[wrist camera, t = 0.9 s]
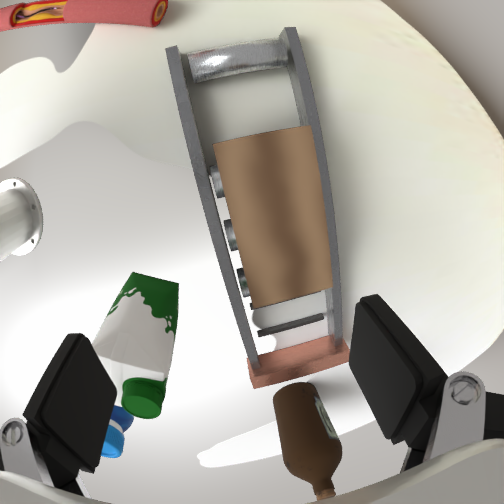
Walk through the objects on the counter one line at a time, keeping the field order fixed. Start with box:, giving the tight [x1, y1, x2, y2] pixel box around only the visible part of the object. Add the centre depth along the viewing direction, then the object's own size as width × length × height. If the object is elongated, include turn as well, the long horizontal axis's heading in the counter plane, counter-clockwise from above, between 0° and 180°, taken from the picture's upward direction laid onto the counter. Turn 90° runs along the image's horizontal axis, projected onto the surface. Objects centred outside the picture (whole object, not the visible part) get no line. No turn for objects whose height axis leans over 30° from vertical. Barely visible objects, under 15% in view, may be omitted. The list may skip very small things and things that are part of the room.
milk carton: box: [92, 272, 179, 419], centre depth 30 cm, size 9×9×20 cm
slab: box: [213, 125, 333, 308], centre depth 31 cm, size 10×19×4 cm, turn 13°
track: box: [165, 27, 350, 389], centre depth 35 cm, size 17×51×5 cm, turn 13°
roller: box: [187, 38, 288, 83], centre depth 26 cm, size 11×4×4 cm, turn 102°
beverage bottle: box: [101, 405, 134, 458], centre depth 34 cm, size 8×8×20 cm
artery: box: [0, 0, 168, 32], centre depth 17 cm, size 42×5×5 cm, turn 70°
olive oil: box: [273, 382, 342, 501], centre depth 40 cm, size 11×11×25 cm
